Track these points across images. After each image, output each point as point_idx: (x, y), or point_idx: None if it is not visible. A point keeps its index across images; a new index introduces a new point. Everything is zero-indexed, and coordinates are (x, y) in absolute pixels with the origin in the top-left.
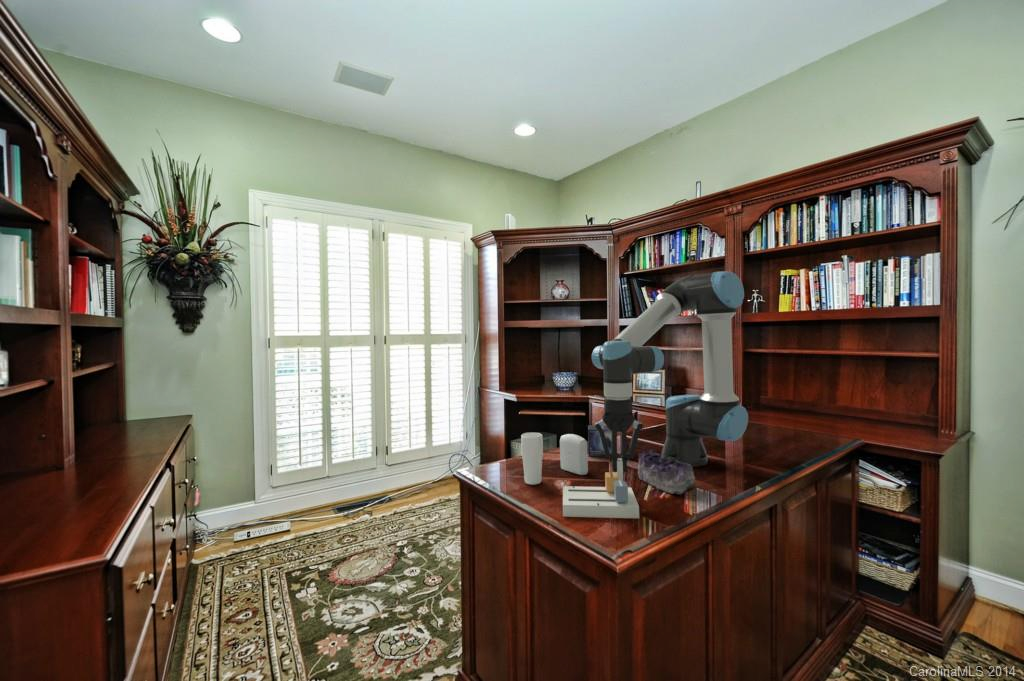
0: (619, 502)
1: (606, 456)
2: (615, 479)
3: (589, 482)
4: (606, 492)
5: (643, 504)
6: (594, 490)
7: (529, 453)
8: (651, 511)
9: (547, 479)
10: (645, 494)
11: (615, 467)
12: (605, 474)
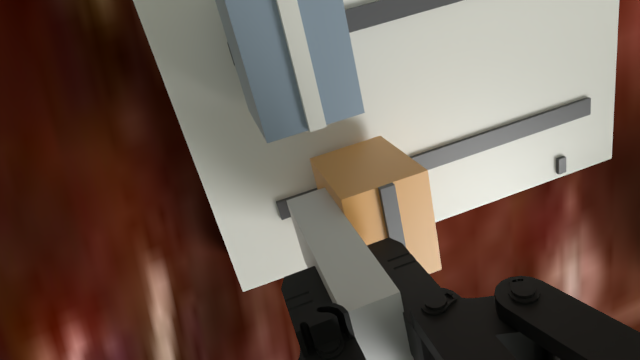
0: None
1: (539, 284)
2: (353, 186)
3: None
4: None
5: (151, 199)
6: (450, 151)
7: None
8: (80, 116)
9: (628, 299)
10: (169, 331)
11: (388, 264)
12: (435, 235)
